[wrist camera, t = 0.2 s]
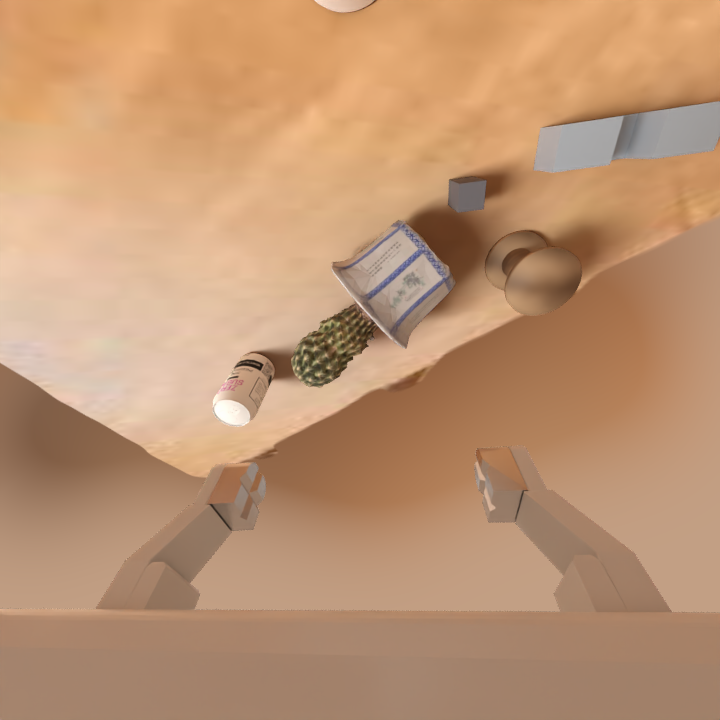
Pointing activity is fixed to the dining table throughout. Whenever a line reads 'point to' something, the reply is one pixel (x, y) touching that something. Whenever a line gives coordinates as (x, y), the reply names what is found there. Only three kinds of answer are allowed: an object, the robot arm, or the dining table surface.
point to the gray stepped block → (629, 138)
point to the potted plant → (375, 302)
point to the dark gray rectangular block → (467, 194)
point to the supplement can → (243, 390)
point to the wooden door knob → (532, 273)
